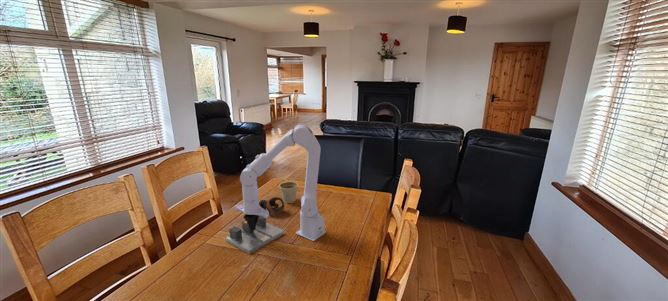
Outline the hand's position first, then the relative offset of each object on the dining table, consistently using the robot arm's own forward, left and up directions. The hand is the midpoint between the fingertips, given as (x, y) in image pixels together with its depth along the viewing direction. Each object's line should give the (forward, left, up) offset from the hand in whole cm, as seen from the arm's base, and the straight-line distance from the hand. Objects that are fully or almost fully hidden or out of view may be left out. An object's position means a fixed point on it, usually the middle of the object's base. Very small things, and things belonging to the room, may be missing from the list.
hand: (253, 230), depth 112 cm
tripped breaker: (+3, 0, -1) cm, 3 cm away
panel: (-1, 0, -3) cm, 3 cm away
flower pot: (+12, -32, -3) cm, 34 cm away
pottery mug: (+10, -19, -3) cm, 22 cm away
